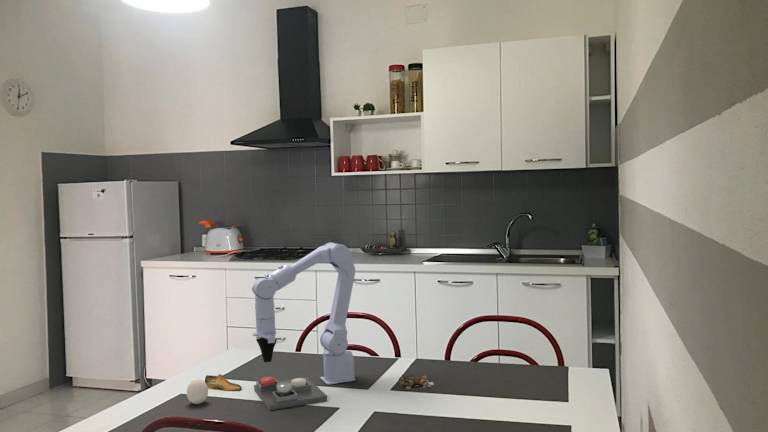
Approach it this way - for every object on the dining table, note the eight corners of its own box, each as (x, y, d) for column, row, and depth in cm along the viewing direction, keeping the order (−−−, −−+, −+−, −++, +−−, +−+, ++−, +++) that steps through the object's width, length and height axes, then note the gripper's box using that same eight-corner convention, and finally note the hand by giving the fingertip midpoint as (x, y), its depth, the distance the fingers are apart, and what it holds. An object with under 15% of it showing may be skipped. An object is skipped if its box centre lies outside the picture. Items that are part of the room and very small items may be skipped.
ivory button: (303, 385, 201) (303, 377, 201) (307, 389, 197) (307, 381, 197) (289, 387, 199) (289, 379, 199) (293, 391, 195) (293, 383, 195)
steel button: (290, 389, 192) (289, 381, 192) (294, 393, 188) (293, 385, 188) (275, 391, 191) (274, 383, 190) (279, 396, 187) (278, 387, 186)
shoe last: (237, 393, 202) (236, 378, 201) (202, 388, 207) (201, 373, 207) (245, 389, 205) (245, 374, 205) (211, 384, 211) (210, 370, 211)
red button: (273, 383, 203) (273, 376, 203) (277, 387, 199) (276, 379, 199) (259, 386, 201) (259, 378, 201) (262, 390, 197) (262, 381, 197)
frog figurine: (406, 394, 195) (405, 381, 195) (391, 383, 206) (390, 371, 206) (440, 388, 199) (440, 376, 199) (424, 378, 210) (423, 366, 210)
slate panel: (306, 381, 210) (306, 372, 210) (327, 400, 190) (326, 390, 190) (254, 389, 203) (253, 380, 203) (269, 410, 184) (269, 400, 184)
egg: (209, 399, 196) (208, 374, 195) (207, 406, 190) (206, 380, 189) (188, 401, 195) (187, 376, 194) (186, 408, 189) (184, 382, 188)
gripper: (247, 315, 205) (249, 357, 205) (257, 323, 191) (259, 369, 192) (269, 312, 207) (271, 354, 208) (281, 320, 194) (283, 365, 195)
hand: (267, 361), depth 200 cm, fingers closed
